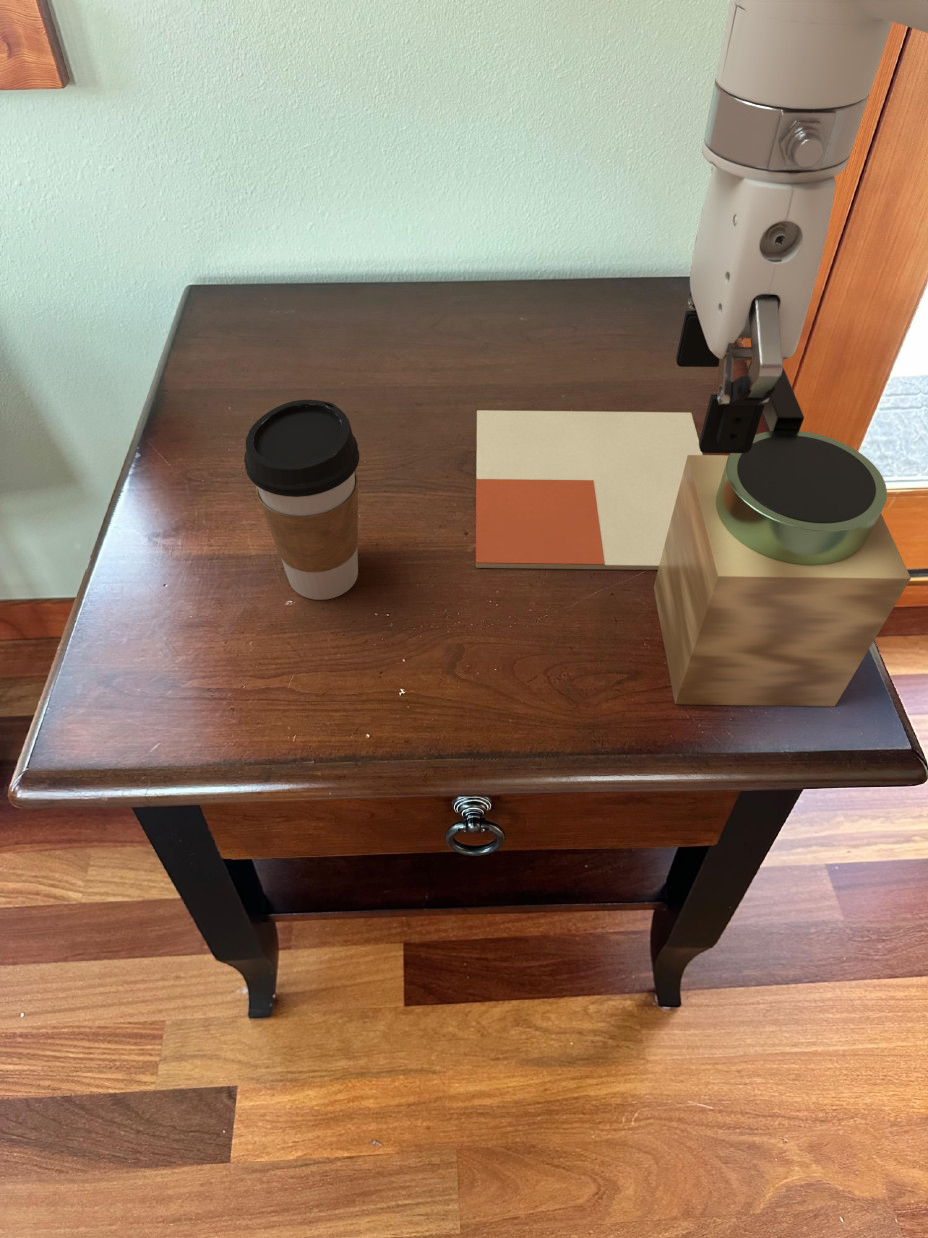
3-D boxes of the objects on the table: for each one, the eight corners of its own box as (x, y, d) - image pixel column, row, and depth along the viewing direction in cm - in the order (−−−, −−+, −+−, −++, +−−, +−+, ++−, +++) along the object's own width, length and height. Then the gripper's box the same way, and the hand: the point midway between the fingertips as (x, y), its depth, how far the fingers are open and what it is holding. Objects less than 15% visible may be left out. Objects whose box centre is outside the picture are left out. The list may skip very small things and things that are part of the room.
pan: (685, 397, 64) (696, 350, 61) (815, 398, 64) (833, 352, 61) (731, 564, 53) (747, 517, 50) (890, 566, 53) (916, 519, 49)
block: (795, 588, 70) (855, 456, 60) (835, 706, 62) (911, 578, 52) (653, 587, 70) (687, 454, 60) (674, 704, 63) (718, 576, 52)
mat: (690, 417, 86) (691, 411, 85) (731, 571, 72) (733, 565, 71) (476, 414, 86) (476, 409, 86) (475, 568, 72) (475, 562, 71)
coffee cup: (392, 563, 72) (379, 419, 61) (331, 626, 67) (305, 483, 56) (316, 527, 75) (290, 383, 64) (253, 585, 70) (212, 441, 59)
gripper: (909, 195, 37) (797, 489, 50) (811, 70, 49) (740, 336, 62) (741, 195, 38) (672, 488, 51) (682, 70, 49) (638, 336, 62)
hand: (710, 405), depth 56 cm, fingers open, 9 cm apart
